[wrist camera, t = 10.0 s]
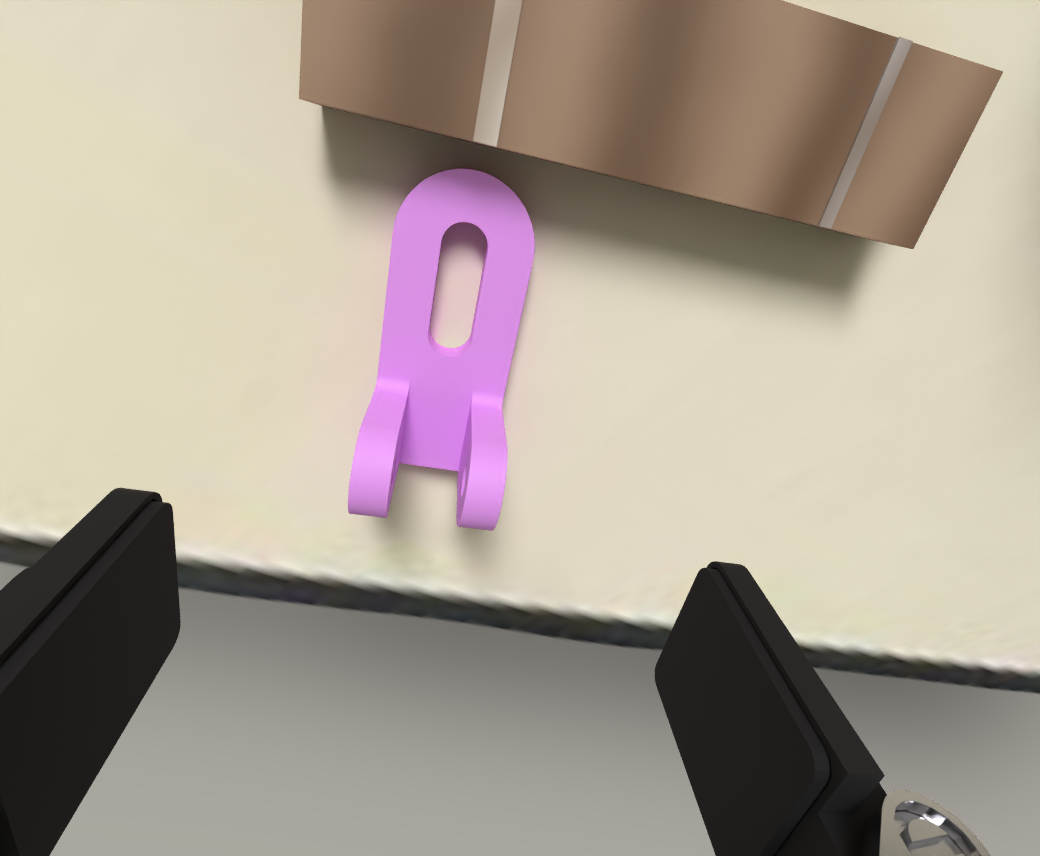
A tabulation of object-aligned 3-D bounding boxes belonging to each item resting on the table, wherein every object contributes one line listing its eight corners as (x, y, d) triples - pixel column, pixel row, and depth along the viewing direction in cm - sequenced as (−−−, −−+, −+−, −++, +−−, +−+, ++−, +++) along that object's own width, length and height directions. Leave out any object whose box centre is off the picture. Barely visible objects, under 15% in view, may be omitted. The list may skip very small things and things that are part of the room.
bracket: (485, 460, 28) (491, 549, 22) (373, 444, 27) (345, 533, 21) (544, 185, 22) (574, 199, 16) (405, 153, 21) (379, 154, 15)
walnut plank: (936, 81, 22) (1005, 71, 19) (863, 238, 24) (915, 249, 21) (332, -106, 18) (307, -154, 15) (321, 105, 20) (298, 98, 17)
